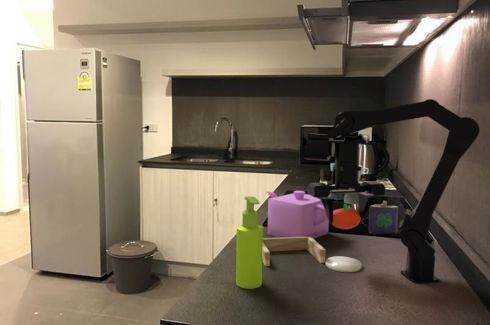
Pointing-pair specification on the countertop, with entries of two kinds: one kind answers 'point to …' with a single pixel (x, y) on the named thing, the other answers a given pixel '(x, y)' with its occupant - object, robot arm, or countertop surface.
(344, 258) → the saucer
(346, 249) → the countertop surface
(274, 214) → the teapot
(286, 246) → the wooden frame
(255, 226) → the soap dispenser
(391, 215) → the flask
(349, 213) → the pumpkin
